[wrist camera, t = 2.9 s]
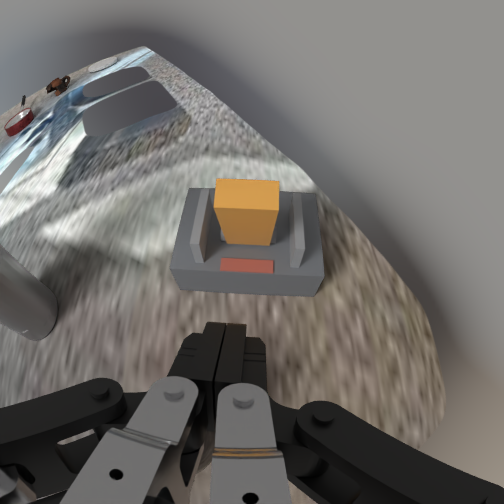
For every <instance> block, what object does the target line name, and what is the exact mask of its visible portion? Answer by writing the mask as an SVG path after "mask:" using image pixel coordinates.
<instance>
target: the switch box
mask: <svg viewBox="0 0 504 504" xmlns="http://www.w3.org/2000/svg"><path fill="white" fill-rule="evenodd" d="M214 198H215V188H189V190H188V193H187V197H186V201H185V205H184V209H183V213H182V217H181V221H180V225H179V229H178V233H177V237H176V242H175V246H174V250H173V255H172V260H171V264H170V270H171V272H172V274H173V276H174V278H175V280H176V282H177V284H178V286H179V288H180V290H192V291H206V292H221V293H238V294H257V295H280V296H311V297H314V295H315V293H316V291H317V290H318V288H319V286H320V284H321V282H322V280H323V278H324V277H325V276H324V264H323V253H322V243H321V234H320V225H319V217H318V209H317V201H316V194H311V193H298V192H284V191H279V211H278V215H277V219H276V223H275V227H277V235H276V244H273V243H270V245H269V246H264V245H244V244H227V242H226V241H221V226H220V224H219V221H218V218H217V216H216V213H215V210H214Z"/></svg>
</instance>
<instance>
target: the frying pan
mask: <svg viewBox="0 0 504 504" xmlns="http://www.w3.org/2000/svg"><path fill="white" fill-rule="evenodd" d="M25 98H26V97H25V95H24V96H23V99H22V104H21V112H19V113H18V114H16V115H15V116H14V117H13V118H11V119H10V120H9V121H8V123H7V124H6V125H5V127H4V128H5V130H6V132H7V134H8V136H13V135H15V134H17V133H19V132H20V131H21V130H23V129H24V128H25V127H26V126H27V125H28V124H30V122H31V121H32V120H33V118H34V115H33V113H32V111H31V108H26V109H24V110H23V108H24V104H25Z"/></svg>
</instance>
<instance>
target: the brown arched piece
mask: <svg viewBox="0 0 504 504" xmlns="http://www.w3.org/2000/svg"><path fill="white" fill-rule="evenodd" d="M65 79H67V82H65ZM69 82H70V77H69V76H65V77H63V78H62V79H59V78H57V79H55V80H53V81H52V82H51V83H50V84H49V85H48V86H47V87H46V89H47V94H48V93H50V92H52V91H54V90H57V91H56V92H55V94H56V96H58V95H60V94H61V93H62V92H64V91H65V90H67V89H66V87H67V85H68V84H69Z"/></svg>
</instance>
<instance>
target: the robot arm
mask: <svg viewBox="0 0 504 504" xmlns="http://www.w3.org/2000/svg"><path fill="white" fill-rule="evenodd" d="M57 312H58V305H57V300H56V297H55V295H54V293H53V292H52V291H51V290H50V289H49V288H47V287H46V286H45V285H44V284H43V283H41V282H40V281H39V280H38V279H37V278H36V277H35V276H34V275H32V274H31V273H30V272H29V271H28V270H27V269H26V268H25V267H23V266H22V265H21V264H20V263H19V262H18V261H17V260H16V259H15V258H14V257H13V256H12V255H11V254H10V253H9V252H8V251H7V250H6V249H5V248H4V247H3V246H2V245H1V244H0V323H1V324H3V325H4V326H6V327H8V328H9V329H11V330H13V331H15V332H16V333H18V334H20V335H22V336H24V337H26V338H28V339H30V340H33V341H37V340H41V339H43V338H44V337H46V336H47V335H48V334H49V332H50V331H51V330H52V328H53V326H54V324H55V321H56V318H57ZM215 427H216V434H215V449H214V451H213V454H212V467H211V485H210V504H292V502H291V496H290V491H289V485H288V480H289V481H290V482H291V483H293V484H294V485H295V486H296V487H297V488H299V489H300V490H301V491H302V492H304V493H305V494H306V495H307V496H309V497H310V498H311V499H313V500H314V501H315V502H317V503H318V504H504V488H503V487H501V486H499V485H496V484H494V483H491V482H488V481H486V480H483V479H480V478H478V477H475V476H473V475H470V474H468V473H465V472H463V471H461V470H459V469H456V468H454V467H452V466H449V465H447V464H445V463H443V462H441V461H439V460H437V459H434V458H432V457H430V456H428V455H426V454H424V453H422V452H420V451H418V450H416V449H414V448H412V447H410V446H409V445H407V444H405V443H403V442H401V441H399V440H397V439H395V438H394V437H392V436H390V435H388V434H386V433H384V432H383V431H381V430H379V429H377V428H376V427H374V426H372V425H370V424H369V423H367V422H365V421H364V420H362V419H360V418H359V417H357V416H355V415H354V414H352V413H350V412H349V411H347V410H345V409H344V408H342V407H341V406H339V405H337V404H335V403H332V402H328V401H313V402H310V403H307V404H305V405H303V406H302V407H301V408H300V409H299V410H297V409H292V408H288V407H285V406H282V405H280V404H278V403H276V402H275V401H273V400H272V399H271V398H270V396H269V395H268V392H267V380H266V348H265V344H264V343H263V341H262V340H261V339H260V338H257V337H246V324H233V323H227V325H226V323H218V322H207V323H206V326H205V329H204V331H203V334H201V333H192V334H190V335H189V336H188V337H186V338H185V339H184V341H183V343H182V345H181V348H180V349H179V351H178V355H177V356H176V358H175V360H174V362H173V365H172V367H171V369H170V371H169V373H168V375H167V377H165V378H161V379H159V380H157V381H156V382H155V383H153V385H152V386H151V387H150V389H149V390H148V391H147V392H137V393H123V389H122V387H121V385H120V384H119V383H118V382H116V381H114V380H112V379H108V378H96V379H92V380H89V381H86V382H83V383H81V384H78V385H75V386H72V387H69V388H66V389H63V390H60V391H57V392H54V393H51V394H48V395H44V396H41V397H38V398H35V399H32V400H28V401H25V402H21V403H18V404H14V405H11V406H7V407H4V408H0V504H190V492H191V488H192V485H193V482H194V479H195V476H196V473H197V469H198V466H199V463H200V460H201V456H202V453H203V450H204V441H205V436H206V431H212V432H215ZM90 429H93V430H94V432H95V433H94V434H91V435H89V436H86V437H84V438H81V439H79V440H76V441H73V442H71V443H68V444H65V445H60V444H57V442H59V441H61V440H64V439H67V438H69V437H72V436H75V435H77V434H80V433H83V432H85V431H88V430H90ZM66 489H67V490H66ZM63 490H64V491H63ZM60 491H62V492H60ZM57 492H59V493H57ZM54 493H56V494H54ZM51 494H54V495H51ZM48 495H51V496H48ZM45 496H48V497H45ZM41 497H45V498H42V499H39V500H36V499H38V498H41Z"/></svg>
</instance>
